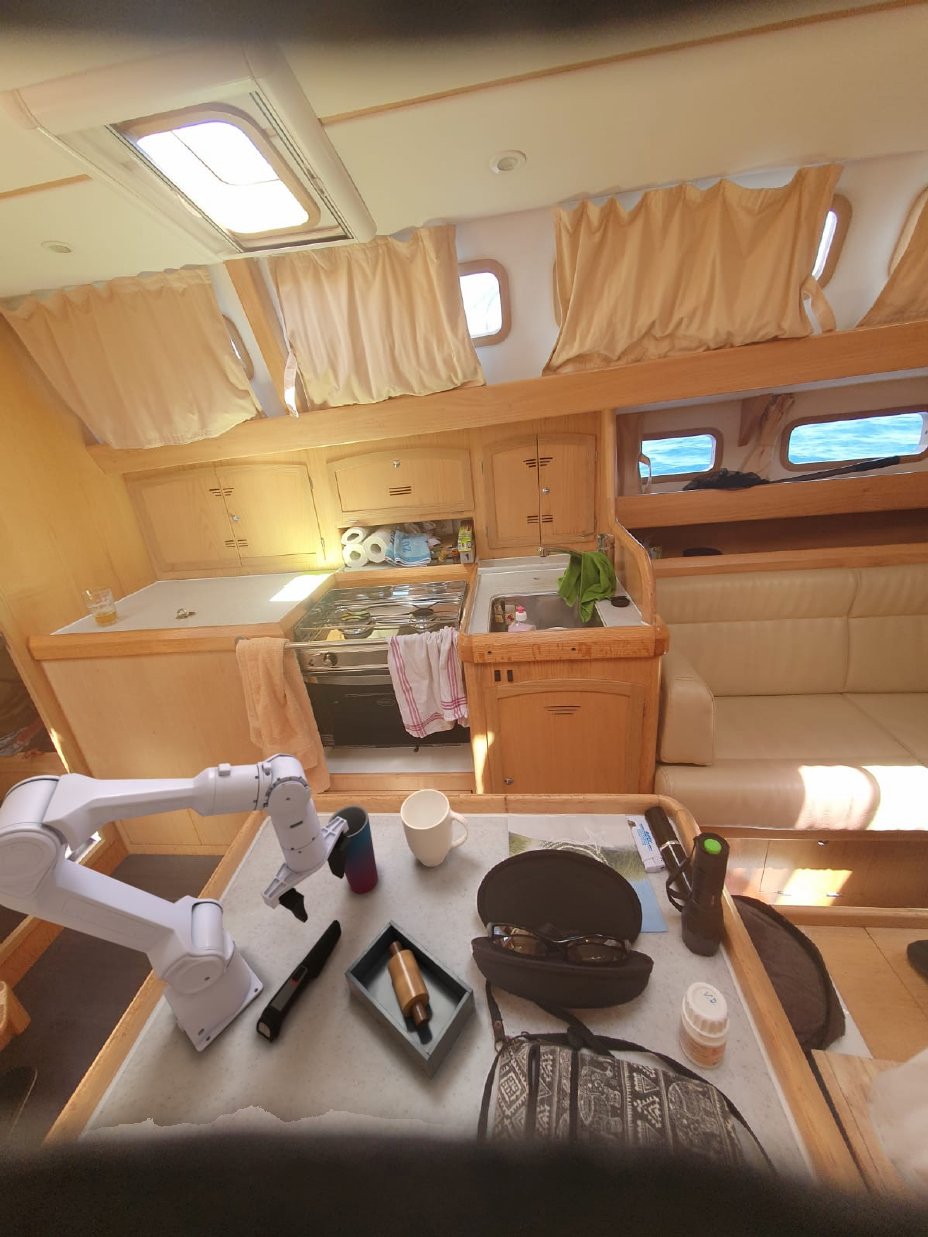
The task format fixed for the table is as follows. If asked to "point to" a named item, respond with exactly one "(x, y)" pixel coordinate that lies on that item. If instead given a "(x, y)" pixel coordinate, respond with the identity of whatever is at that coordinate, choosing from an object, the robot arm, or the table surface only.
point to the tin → (378, 996)
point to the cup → (358, 849)
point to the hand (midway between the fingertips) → (320, 895)
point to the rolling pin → (408, 984)
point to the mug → (430, 826)
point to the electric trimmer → (297, 983)
